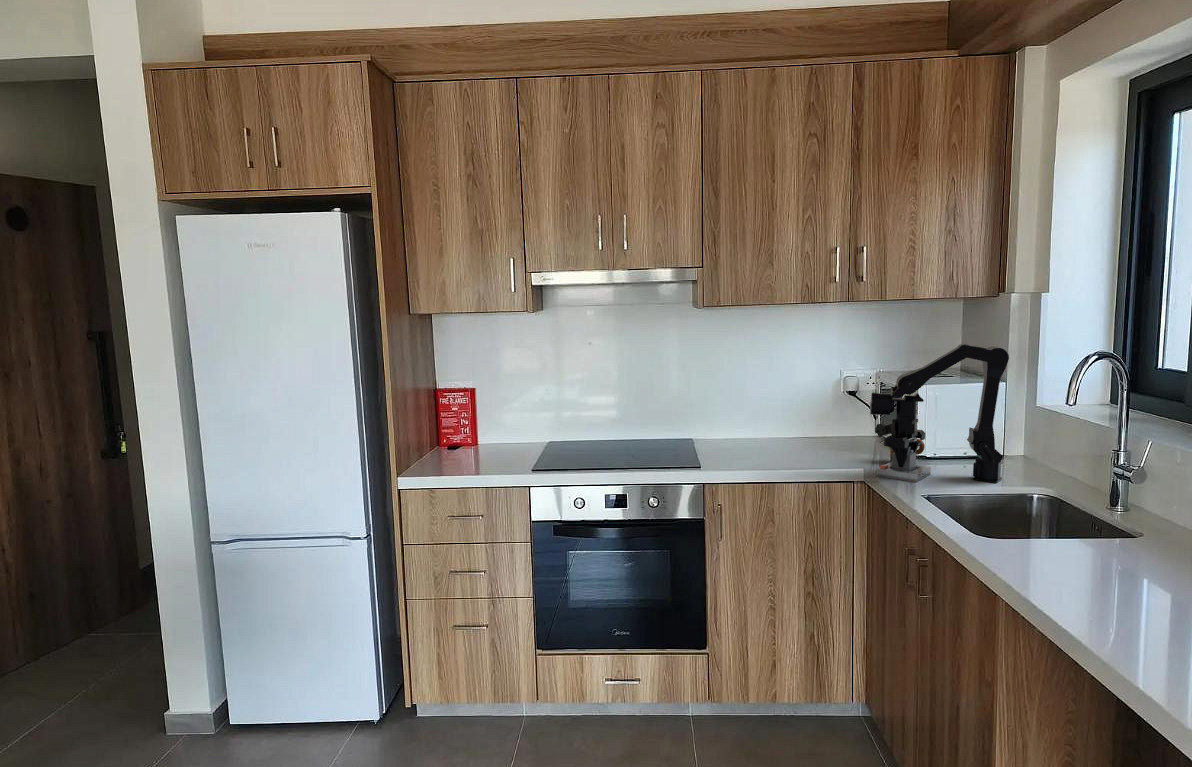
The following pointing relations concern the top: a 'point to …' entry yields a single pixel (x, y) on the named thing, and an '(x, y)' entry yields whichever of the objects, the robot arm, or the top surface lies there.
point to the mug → (918, 451)
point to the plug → (909, 463)
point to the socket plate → (904, 473)
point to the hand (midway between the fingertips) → (904, 465)
